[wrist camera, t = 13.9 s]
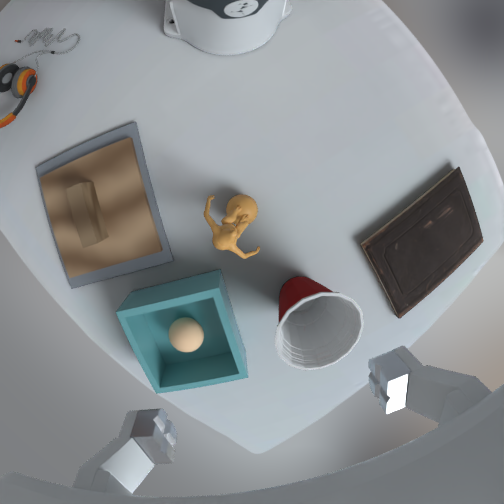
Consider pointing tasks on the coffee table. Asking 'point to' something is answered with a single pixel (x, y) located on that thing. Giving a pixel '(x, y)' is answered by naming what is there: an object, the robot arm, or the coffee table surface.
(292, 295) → the plastic cup
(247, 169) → the coffee table surface
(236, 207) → the figurine
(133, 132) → the mat
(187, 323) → the ball
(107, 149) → the lid
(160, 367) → the open box
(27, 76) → the headphones
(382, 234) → the hardcover book
